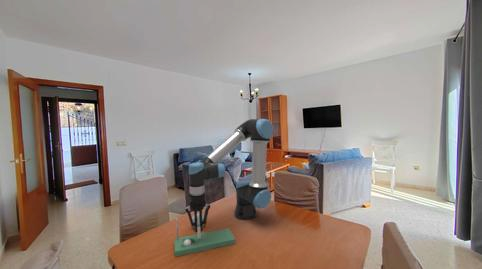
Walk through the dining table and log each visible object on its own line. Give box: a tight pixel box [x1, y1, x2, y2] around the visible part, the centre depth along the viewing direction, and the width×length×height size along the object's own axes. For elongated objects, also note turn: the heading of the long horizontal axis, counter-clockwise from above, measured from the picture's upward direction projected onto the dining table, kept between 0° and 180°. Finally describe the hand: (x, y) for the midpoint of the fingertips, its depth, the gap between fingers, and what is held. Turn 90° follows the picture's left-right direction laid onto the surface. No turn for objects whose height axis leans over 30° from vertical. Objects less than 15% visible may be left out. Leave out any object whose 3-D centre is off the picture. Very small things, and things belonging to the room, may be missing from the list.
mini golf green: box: [174, 217, 236, 258], centre depth 109 cm, size 30×12×14 cm, turn 108°
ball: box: [183, 239, 192, 246], centre depth 107 cm, size 4×4×4 cm
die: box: [191, 212, 205, 229], centre depth 127 cm, size 8×9×10 cm
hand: (199, 237), depth 109 cm, fingers closed
